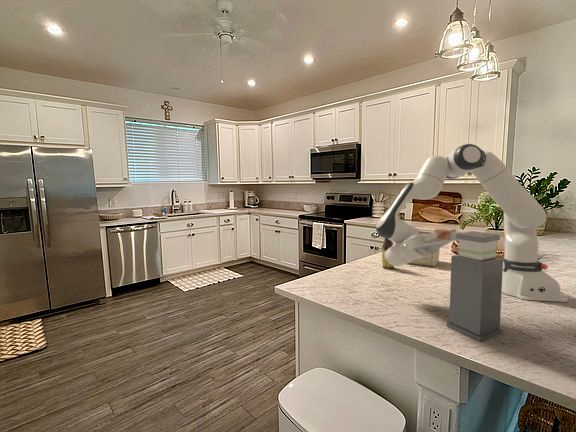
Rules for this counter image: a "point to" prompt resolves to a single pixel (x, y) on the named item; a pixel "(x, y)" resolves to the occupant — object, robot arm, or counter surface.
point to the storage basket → (427, 259)
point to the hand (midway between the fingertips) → (446, 232)
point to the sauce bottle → (385, 247)
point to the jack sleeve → (476, 297)
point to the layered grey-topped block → (472, 243)
